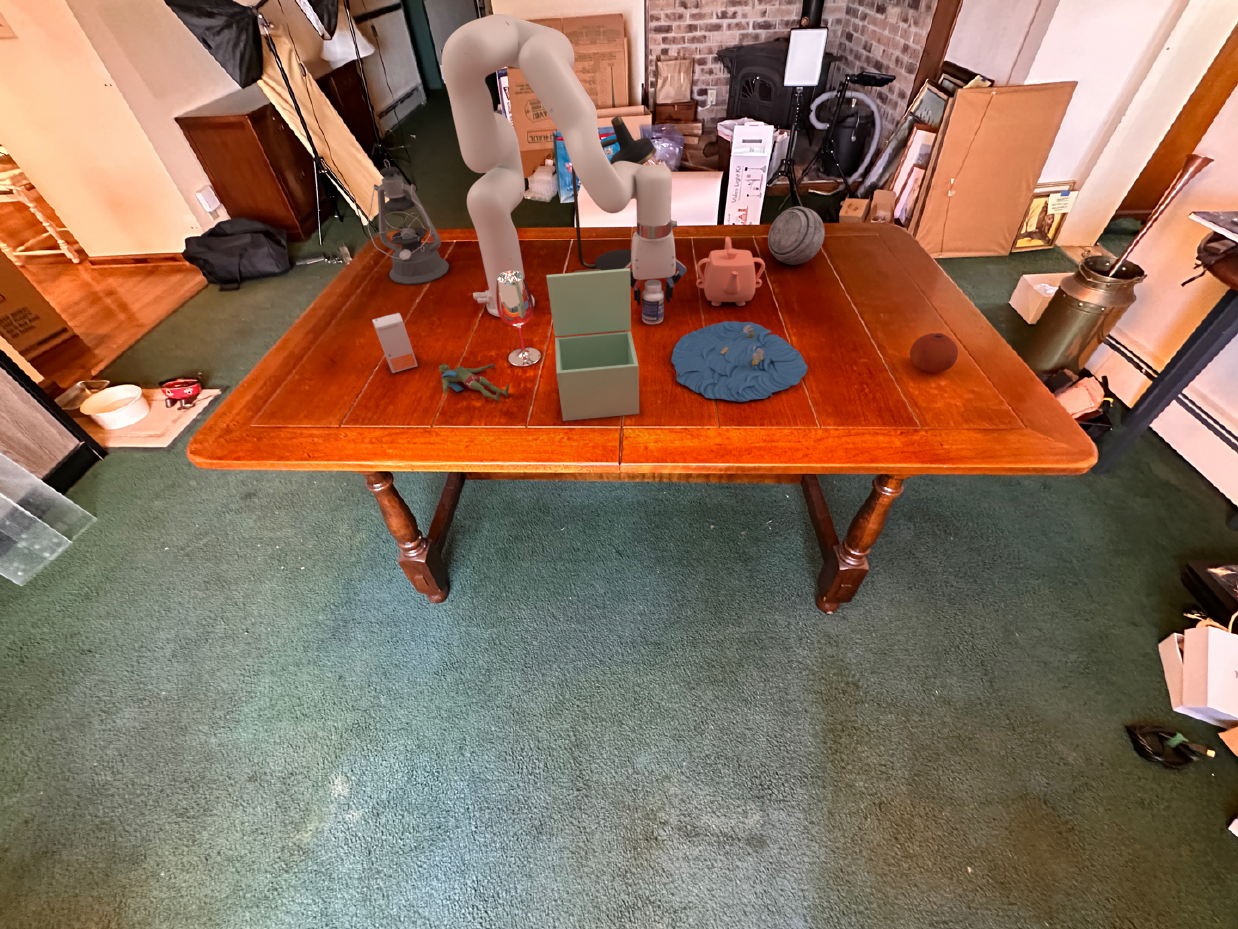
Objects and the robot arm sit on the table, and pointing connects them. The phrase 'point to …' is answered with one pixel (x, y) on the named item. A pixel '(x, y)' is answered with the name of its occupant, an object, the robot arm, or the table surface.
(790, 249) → the decorative orb
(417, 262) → the lantern
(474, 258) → the table surface
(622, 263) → the lamp
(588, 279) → the lid
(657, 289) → the pill bottle
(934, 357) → the fruit
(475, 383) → the figurine
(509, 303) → the wineglass
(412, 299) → the table surface
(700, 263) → the teapot
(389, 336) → the cosmetic box
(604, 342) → the chest
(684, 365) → the blue flat rumpled sheet
